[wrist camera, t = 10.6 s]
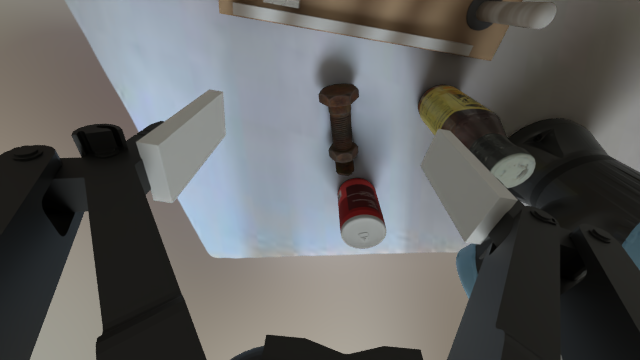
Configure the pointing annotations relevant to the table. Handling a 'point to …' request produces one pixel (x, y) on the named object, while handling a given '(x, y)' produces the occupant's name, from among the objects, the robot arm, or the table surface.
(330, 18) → the board
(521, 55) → the table surface
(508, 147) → the sauce bottle
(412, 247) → the table surface
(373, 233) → the canned food
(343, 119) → the bolt
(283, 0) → the block
